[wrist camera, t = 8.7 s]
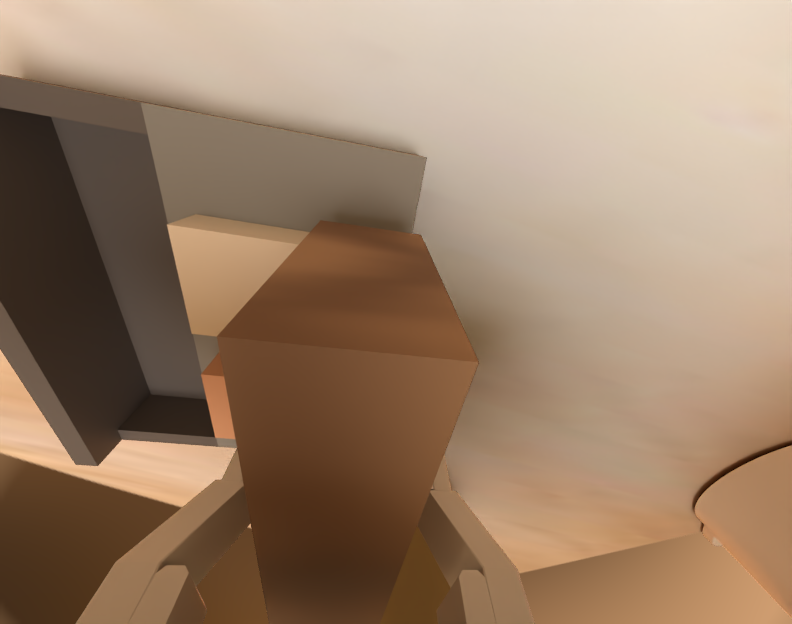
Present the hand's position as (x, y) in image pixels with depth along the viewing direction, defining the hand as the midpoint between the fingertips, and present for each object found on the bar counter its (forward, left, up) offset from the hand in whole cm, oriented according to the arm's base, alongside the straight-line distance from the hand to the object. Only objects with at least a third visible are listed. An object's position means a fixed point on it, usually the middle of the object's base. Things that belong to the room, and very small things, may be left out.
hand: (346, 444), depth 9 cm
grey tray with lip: (+6, 0, -7) cm, 9 cm away
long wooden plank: (0, 0, -3) cm, 3 cm away
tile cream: (+4, -4, -4) cm, 7 cm away
